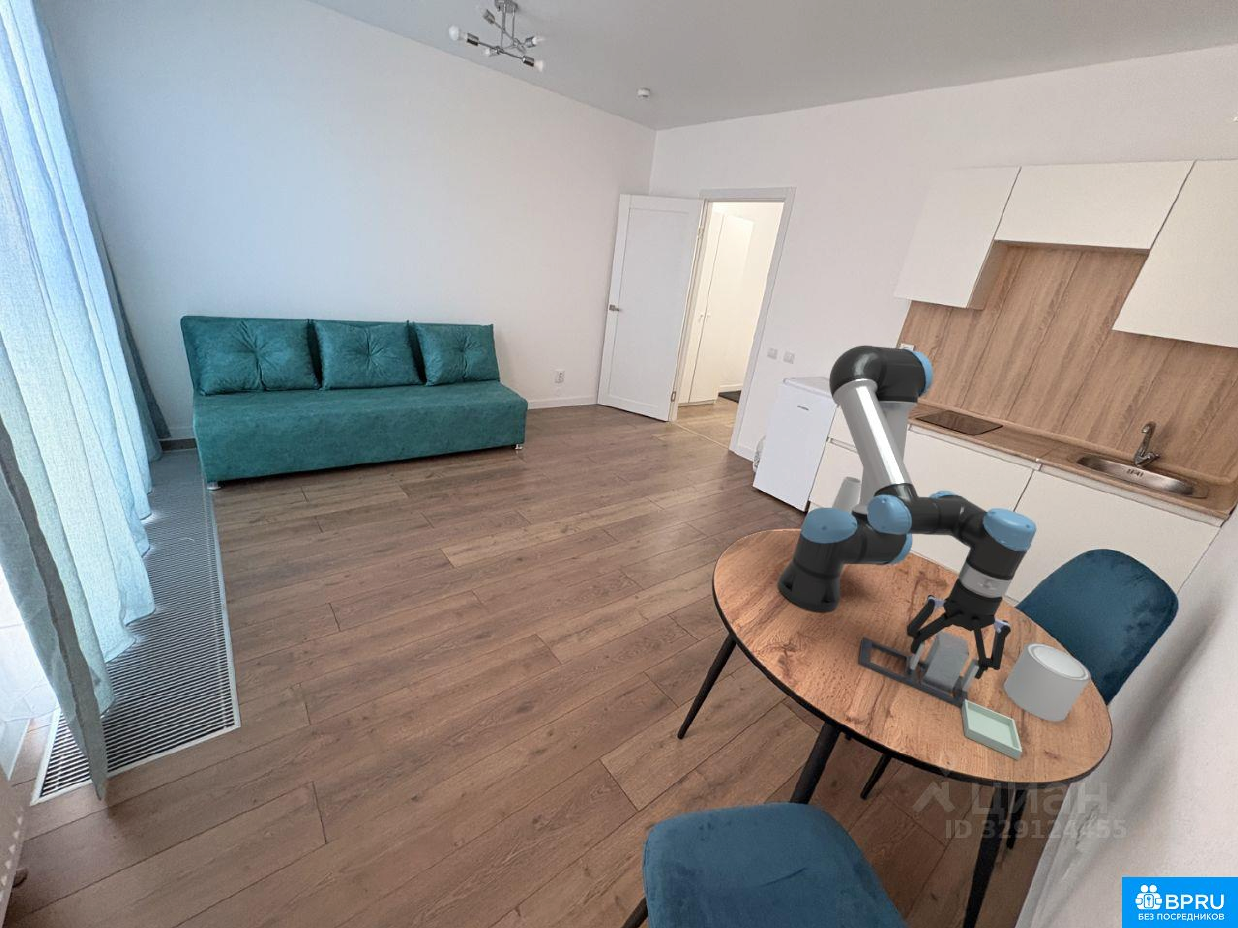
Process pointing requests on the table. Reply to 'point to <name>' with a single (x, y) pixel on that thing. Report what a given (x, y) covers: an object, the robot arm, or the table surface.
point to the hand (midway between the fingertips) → (937, 675)
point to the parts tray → (991, 729)
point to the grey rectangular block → (944, 662)
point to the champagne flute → (847, 494)
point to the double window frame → (908, 672)
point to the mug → (1046, 681)
